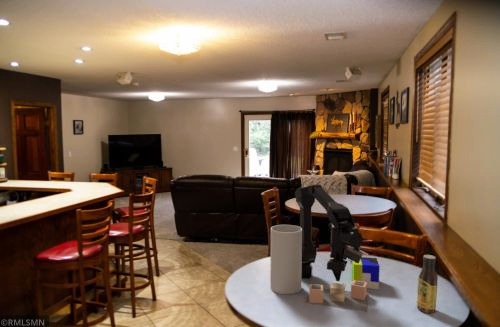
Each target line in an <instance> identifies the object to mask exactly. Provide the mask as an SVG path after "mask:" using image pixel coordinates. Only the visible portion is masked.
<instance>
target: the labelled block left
mask: <svg viewBox="0 0 500 327" xmlns="http://www.w3.org/2000/svg"><path fill="white" fill-rule="evenodd" d="M323 288H324V285H323V284H311V283H310V284H309V290H308V291H309V292H308V295H309V303H308V304H310V303H323Z"/></svg>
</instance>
